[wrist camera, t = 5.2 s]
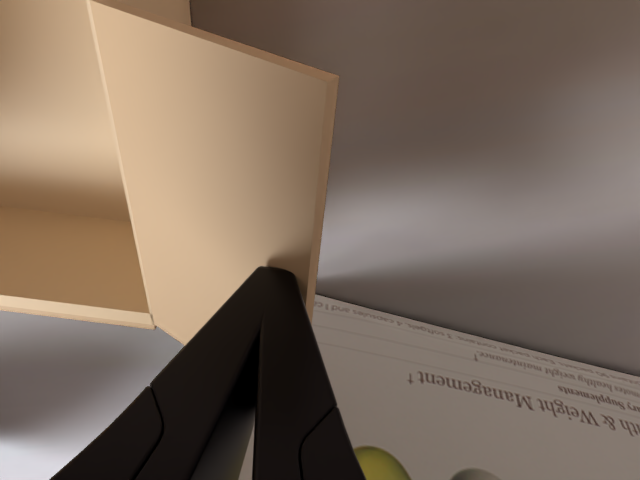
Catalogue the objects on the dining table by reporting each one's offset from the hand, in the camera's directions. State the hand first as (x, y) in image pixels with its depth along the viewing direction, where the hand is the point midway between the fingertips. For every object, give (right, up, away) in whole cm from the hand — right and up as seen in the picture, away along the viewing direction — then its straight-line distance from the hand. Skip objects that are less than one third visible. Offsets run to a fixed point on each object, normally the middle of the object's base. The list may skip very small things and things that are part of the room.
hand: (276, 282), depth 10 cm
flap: (-1, +1, +1) cm, 2 cm away
